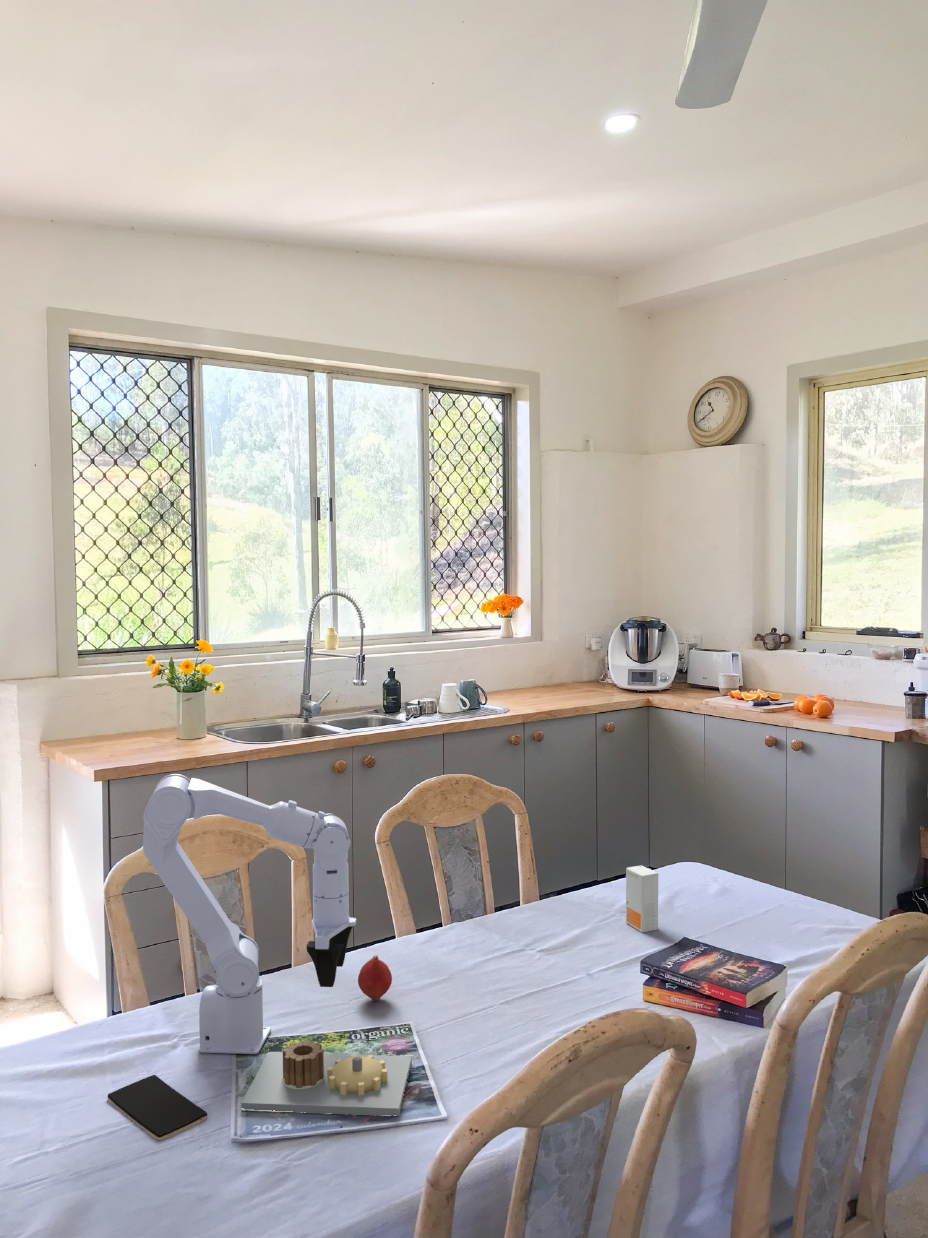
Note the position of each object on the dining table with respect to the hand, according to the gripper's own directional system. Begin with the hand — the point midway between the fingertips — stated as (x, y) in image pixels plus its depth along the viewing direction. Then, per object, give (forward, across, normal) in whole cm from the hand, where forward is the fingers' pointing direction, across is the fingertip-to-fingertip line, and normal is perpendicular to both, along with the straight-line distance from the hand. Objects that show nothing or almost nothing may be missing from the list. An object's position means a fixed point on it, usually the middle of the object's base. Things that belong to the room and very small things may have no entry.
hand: (331, 975), depth 155 cm
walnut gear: (+8, -16, +1) cm, 18 cm away
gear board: (+9, -16, -3) cm, 19 cm away
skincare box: (+10, +49, -55) cm, 74 cm away
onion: (+10, +12, -5) cm, 16 cm away
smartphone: (+10, -23, +20) cm, 32 cm away
